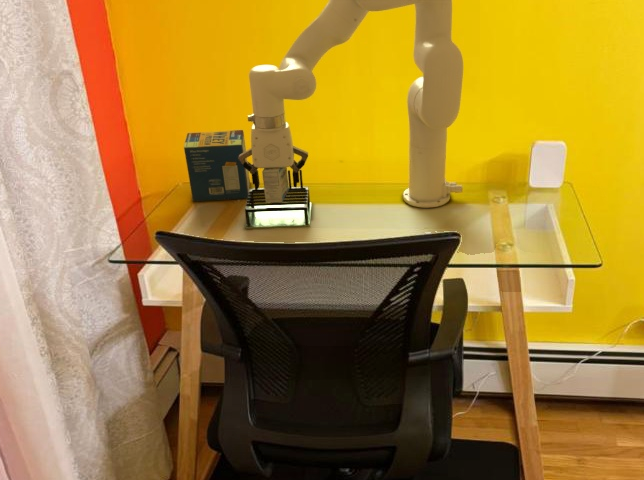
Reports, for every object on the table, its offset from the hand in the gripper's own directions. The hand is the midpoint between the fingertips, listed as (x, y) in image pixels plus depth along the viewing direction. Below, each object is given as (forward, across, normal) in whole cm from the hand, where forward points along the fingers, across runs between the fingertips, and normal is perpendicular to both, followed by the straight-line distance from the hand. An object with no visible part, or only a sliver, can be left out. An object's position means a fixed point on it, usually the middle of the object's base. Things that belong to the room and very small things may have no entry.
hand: (276, 185), depth 200 cm
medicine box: (+3, 0, 0) cm, 3 cm away
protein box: (+9, -17, +16) cm, 25 cm away
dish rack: (+9, 0, 0) cm, 9 cm away
